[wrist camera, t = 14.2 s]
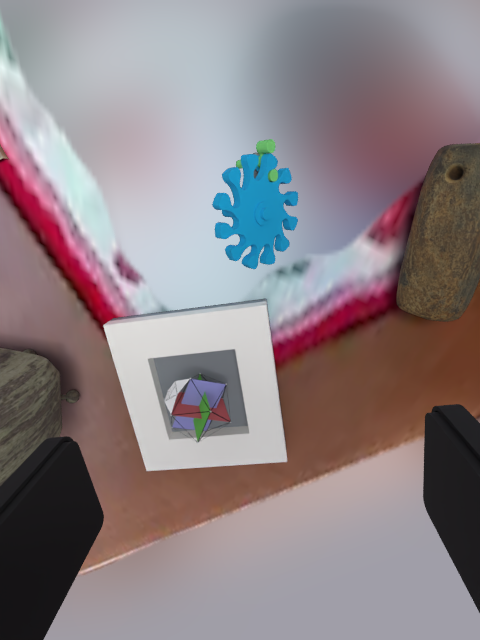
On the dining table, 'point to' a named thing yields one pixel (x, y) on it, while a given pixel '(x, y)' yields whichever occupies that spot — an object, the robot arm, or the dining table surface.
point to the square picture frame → (212, 361)
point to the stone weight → (444, 238)
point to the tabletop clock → (27, 406)
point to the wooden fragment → (2, 154)
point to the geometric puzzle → (196, 404)
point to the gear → (256, 207)
